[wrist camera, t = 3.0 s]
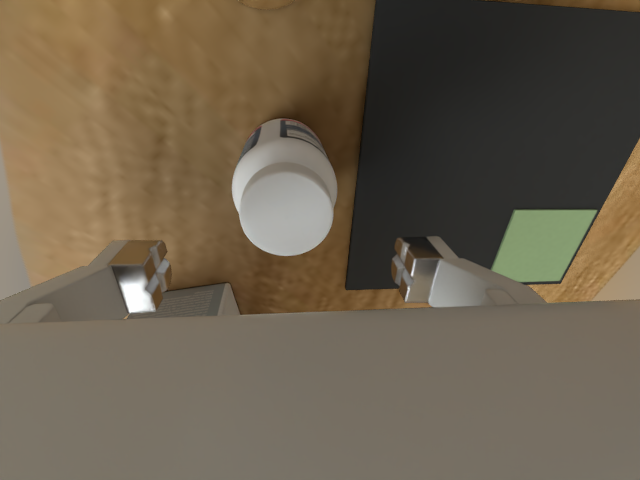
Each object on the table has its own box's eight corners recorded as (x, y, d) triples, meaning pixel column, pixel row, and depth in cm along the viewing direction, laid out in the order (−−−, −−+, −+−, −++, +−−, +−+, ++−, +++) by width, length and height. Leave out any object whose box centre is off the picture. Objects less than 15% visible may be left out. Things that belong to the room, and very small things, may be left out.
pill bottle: (261, 204, 22) (249, 282, 15) (231, 131, 19) (197, 179, 12) (332, 183, 22) (359, 250, 14) (311, 106, 19) (330, 138, 12)
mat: (376, -7, 17) (379, -9, 16) (697, 17, 19) (709, 16, 18) (345, 287, 27) (346, 291, 26) (557, 281, 29) (562, 285, 28)
